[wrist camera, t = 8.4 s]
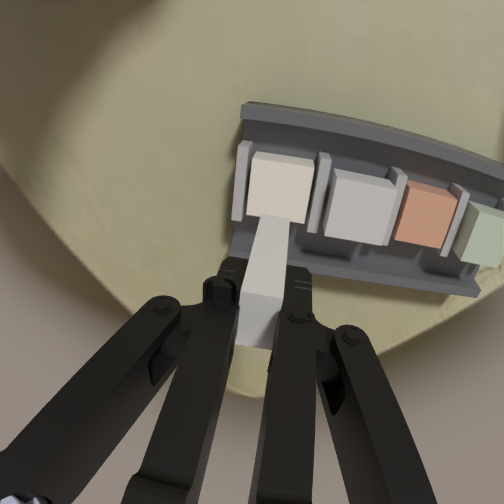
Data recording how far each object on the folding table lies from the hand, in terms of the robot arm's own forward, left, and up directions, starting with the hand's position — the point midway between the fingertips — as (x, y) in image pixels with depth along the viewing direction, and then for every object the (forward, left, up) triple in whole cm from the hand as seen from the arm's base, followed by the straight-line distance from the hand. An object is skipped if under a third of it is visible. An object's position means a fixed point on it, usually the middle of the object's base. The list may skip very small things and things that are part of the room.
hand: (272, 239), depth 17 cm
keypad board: (+9, -1, -12) cm, 15 cm away
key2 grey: (+6, 0, -8) cm, 10 cm away
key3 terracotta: (+12, 0, -10) cm, 16 cm away
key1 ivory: (0, 0, -10) cm, 10 cm away
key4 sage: (+18, 0, -8) cm, 20 cm away
